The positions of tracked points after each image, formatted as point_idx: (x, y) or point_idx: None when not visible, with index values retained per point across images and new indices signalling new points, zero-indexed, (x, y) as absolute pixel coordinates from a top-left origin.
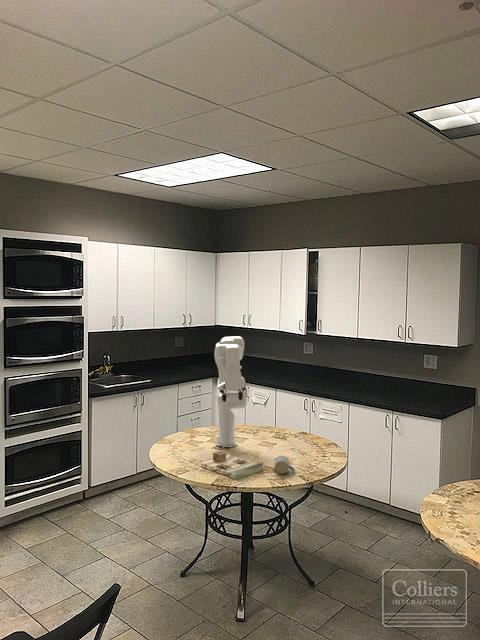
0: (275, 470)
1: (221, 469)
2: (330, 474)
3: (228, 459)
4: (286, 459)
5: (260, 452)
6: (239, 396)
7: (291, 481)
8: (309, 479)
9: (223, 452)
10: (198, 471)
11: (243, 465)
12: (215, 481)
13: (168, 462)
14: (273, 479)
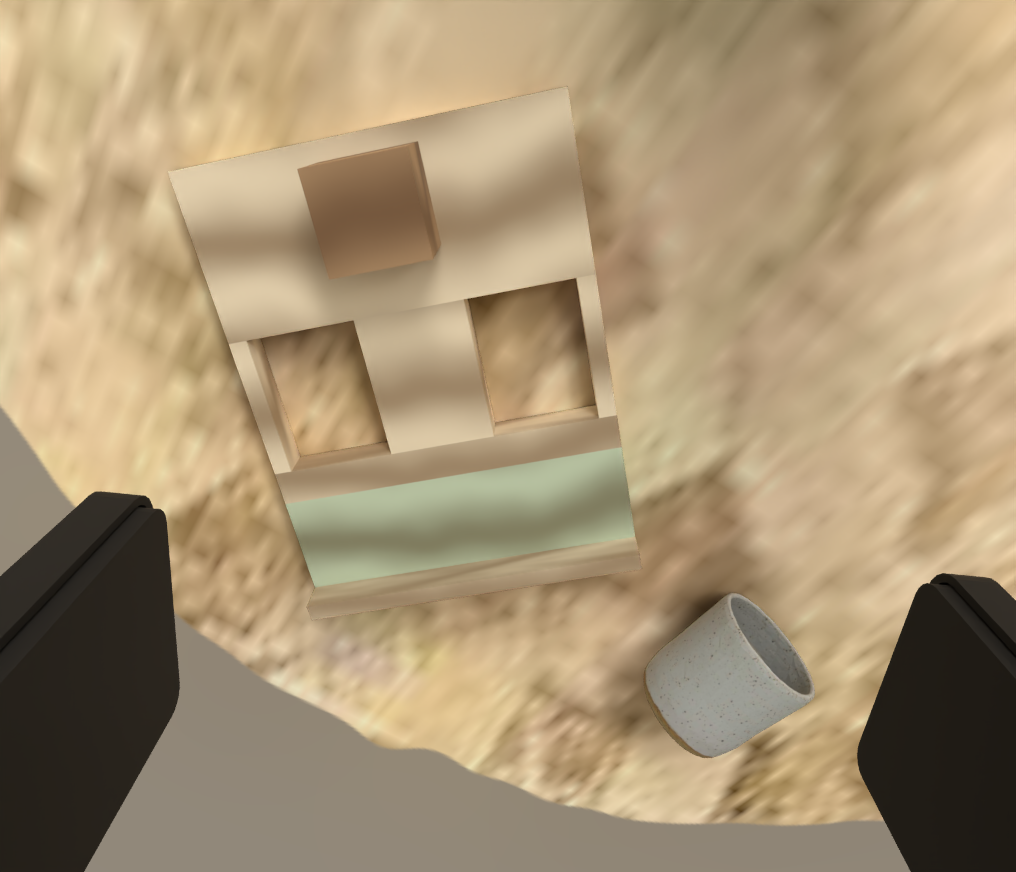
0: (645, 669)
1: (274, 441)
2: None
3: (477, 236)
4: (774, 723)
5: (999, 110)
6: (965, 764)
7: (636, 779)
8: (758, 807)
9: (414, 228)
10: (113, 277)
11: (501, 458)
12: None
13: None
14: (561, 705)
